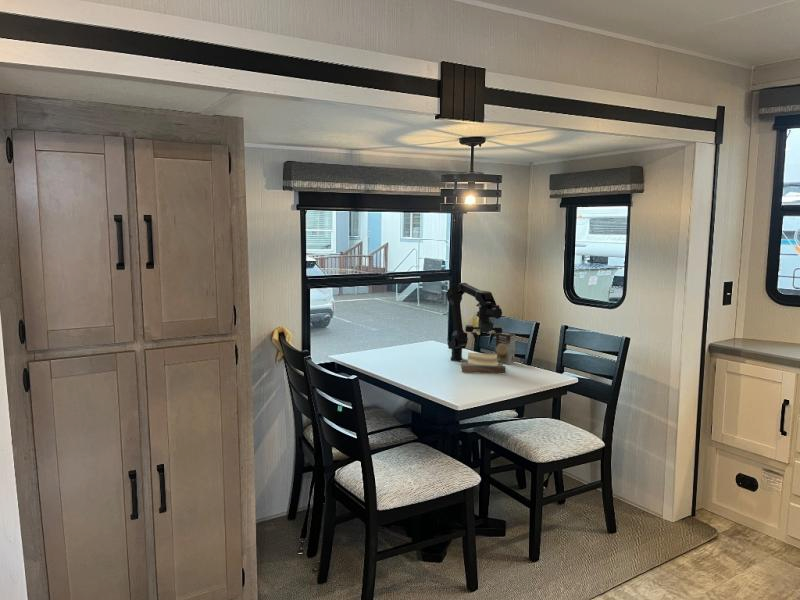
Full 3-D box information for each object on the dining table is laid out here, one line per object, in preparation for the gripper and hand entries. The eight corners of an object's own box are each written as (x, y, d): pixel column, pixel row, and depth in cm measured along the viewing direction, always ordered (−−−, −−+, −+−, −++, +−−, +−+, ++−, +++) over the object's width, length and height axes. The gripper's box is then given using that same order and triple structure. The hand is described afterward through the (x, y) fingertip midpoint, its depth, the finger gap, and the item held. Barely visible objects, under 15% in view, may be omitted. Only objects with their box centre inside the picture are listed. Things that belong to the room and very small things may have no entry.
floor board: (460, 364, 318) (461, 358, 317) (502, 366, 316) (502, 360, 316) (461, 371, 303) (461, 365, 302) (505, 373, 301) (505, 367, 301)
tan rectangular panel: (467, 354, 315) (468, 352, 314) (496, 356, 314) (496, 353, 313) (468, 366, 306) (468, 364, 306) (497, 368, 305) (497, 365, 305)
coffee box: (493, 361, 326) (495, 333, 324) (499, 359, 331) (501, 331, 329) (508, 364, 321) (510, 335, 318) (514, 362, 325) (516, 333, 323)
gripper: (466, 317, 301) (465, 347, 303) (503, 319, 300) (502, 349, 302) (465, 314, 312) (464, 343, 314) (501, 315, 311) (500, 344, 313)
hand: (482, 345), depth 311 cm, fingers open, 6 cm apart
